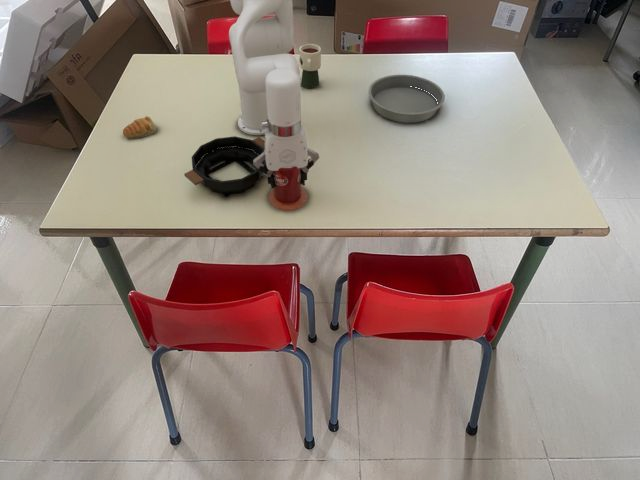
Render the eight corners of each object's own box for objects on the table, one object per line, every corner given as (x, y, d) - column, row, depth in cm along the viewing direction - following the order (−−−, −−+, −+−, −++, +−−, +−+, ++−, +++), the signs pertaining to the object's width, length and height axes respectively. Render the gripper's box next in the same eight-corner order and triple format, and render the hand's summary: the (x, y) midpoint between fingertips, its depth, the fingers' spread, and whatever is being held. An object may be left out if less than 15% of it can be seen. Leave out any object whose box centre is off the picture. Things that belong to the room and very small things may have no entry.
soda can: (281, 208, 121) (278, 172, 112) (269, 191, 126) (266, 155, 117) (306, 200, 124) (306, 163, 115) (294, 183, 128) (293, 147, 119)
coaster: (290, 180, 130) (290, 178, 129) (314, 198, 125) (314, 197, 124) (261, 196, 125) (261, 195, 125) (285, 216, 120) (285, 214, 120)
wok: (246, 143, 141) (244, 125, 136) (287, 174, 131) (287, 156, 127) (174, 178, 129) (169, 160, 125) (214, 215, 120) (210, 196, 115)
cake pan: (453, 99, 159) (456, 87, 156) (423, 135, 145) (426, 122, 142) (388, 78, 168) (389, 66, 165) (353, 110, 154) (354, 97, 150)
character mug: (301, 76, 168) (300, 40, 158) (321, 77, 168) (322, 41, 158) (298, 92, 161) (297, 55, 151) (319, 93, 160) (319, 57, 151)
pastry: (129, 143, 140) (125, 132, 137) (120, 132, 143) (116, 122, 140) (159, 132, 144) (156, 121, 141) (149, 122, 147) (146, 111, 145)
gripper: (248, 137, 105) (254, 197, 118) (325, 130, 107) (323, 189, 120) (245, 118, 110) (252, 177, 123) (318, 112, 112) (318, 170, 125)
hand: (287, 183), depth 121 cm, fingers closed on soda can, 7 cm apart
